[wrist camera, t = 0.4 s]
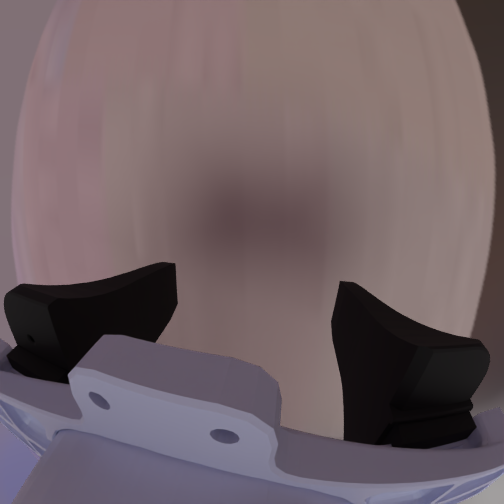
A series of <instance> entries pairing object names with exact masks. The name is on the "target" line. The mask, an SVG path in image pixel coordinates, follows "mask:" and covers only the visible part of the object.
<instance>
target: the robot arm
mask: <svg viewBox="0 0 504 504" xmlns="http://www.w3.org/2000/svg"><path fill="white" fill-rule="evenodd" d="M177 304H178V301H177V285H176V266H175V263H167V262H160V263H155V264H152V265H148V266H145V267H142V268H139V269H136V270H133V271H130V272H127V273H124V274H121V275H117V276H114V277H111V278H107V279H103V280H98V281H93V282H87V283H79V284H71V285H34V284H20V285H18V286H17V287H15V288H14V289H12V290H11V291H9V292H8V293H7V294H6V295H5V298H4V310H5V314H6V317H7V320H8V323H9V326H10V328H11V331H12V333H13V336H14V338H15V340H16V343H17V346H16V347H15V348H14V349H12V348H11V346H10V345H9V344H8V343H6V342H5V341H3V340H2V339H0V423H2V424H3V425H4V426H5V427H6V428H7V429H8V430H9V431H10V432H11V433H13V434H14V435H15V436H16V437H17V438H18V439H19V440H20V441H22V442H23V443H24V444H25V445H26V446H28V447H29V448H30V449H31V450H32V451H34V452H35V453H36V454H37V455H39V456H40V457H41V458H40V460H39V461H38V463H37V464H36V466H35V467H34V469H33V470H32V472H31V474H30V475H29V477H28V478H27V480H26V481H25V483H24V484H23V486H22V487H21V489H20V491H19V492H18V494H17V496H16V497H15V499H14V500H13V502H12V504H457V503H459V502H461V501H464V500H466V499H468V498H471V497H473V496H475V495H477V494H479V493H480V492H482V491H483V490H484V489H486V488H487V487H488V486H490V485H491V484H492V483H493V482H494V481H496V480H497V479H498V478H499V477H501V476H502V475H503V474H504V414H503V412H502V411H501V408H500V407H497V408H494V409H491V410H487V411H484V412H481V413H479V414H477V415H476V416H474V417H473V418H472V416H471V414H470V412H469V411H471V410H472V408H473V404H472V402H471V400H470V398H471V397H472V395H473V394H474V392H475V391H476V389H477V388H478V386H479V385H480V383H481V382H482V380H483V378H484V377H485V375H486V372H487V370H488V367H489V363H490V354H489V352H488V350H487V349H486V348H485V346H484V345H483V344H482V342H481V341H480V340H478V339H472V338H467V337H461V336H456V335H452V334H449V333H445V332H442V331H439V330H436V329H433V328H430V327H428V326H425V325H423V324H420V323H418V322H416V321H414V320H412V319H410V318H408V317H406V316H404V315H402V314H400V313H399V312H397V311H395V310H394V309H392V308H391V307H389V306H388V305H386V304H385V303H383V302H382V301H380V300H379V299H377V298H376V297H375V296H373V295H372V294H371V293H369V292H368V291H367V290H365V289H364V288H362V287H361V286H359V285H358V284H356V283H354V282H345V281H340V284H339V289H338V293H337V298H336V303H335V307H334V311H333V316H332V320H331V327H332V339H333V344H334V349H335V353H336V358H337V362H338V367H339V371H340V376H341V381H342V389H343V405H344V440H339V439H334V438H329V437H324V436H319V435H315V434H310V433H306V432H302V431H298V430H294V429H290V428H287V427H283V426H280V417H281V403H282V398H281V394H280V389H279V385H278V382H277V381H276V380H275V379H274V378H272V377H271V376H270V375H269V374H268V373H267V372H266V371H264V370H263V369H262V368H261V367H260V366H257V365H254V364H251V363H248V362H244V361H241V360H238V359H235V358H233V357H227V356H220V355H214V354H208V353H202V352H197V351H191V350H186V349H181V348H176V347H171V346H167V345H162V344H157V343H155V342H156V341H157V339H158V338H159V336H160V335H161V333H162V332H163V330H164V329H165V327H166V326H167V324H168V323H169V321H170V319H171V317H172V315H173V313H174V311H175V309H176V306H177Z"/></svg>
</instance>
